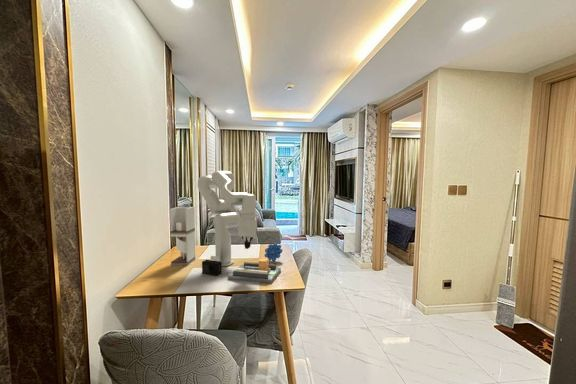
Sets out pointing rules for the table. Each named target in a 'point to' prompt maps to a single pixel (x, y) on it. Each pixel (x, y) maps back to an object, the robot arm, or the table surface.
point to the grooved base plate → (253, 271)
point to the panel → (271, 277)
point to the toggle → (264, 265)
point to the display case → (183, 233)
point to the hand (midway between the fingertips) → (247, 248)
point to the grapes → (273, 251)
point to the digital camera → (211, 267)
